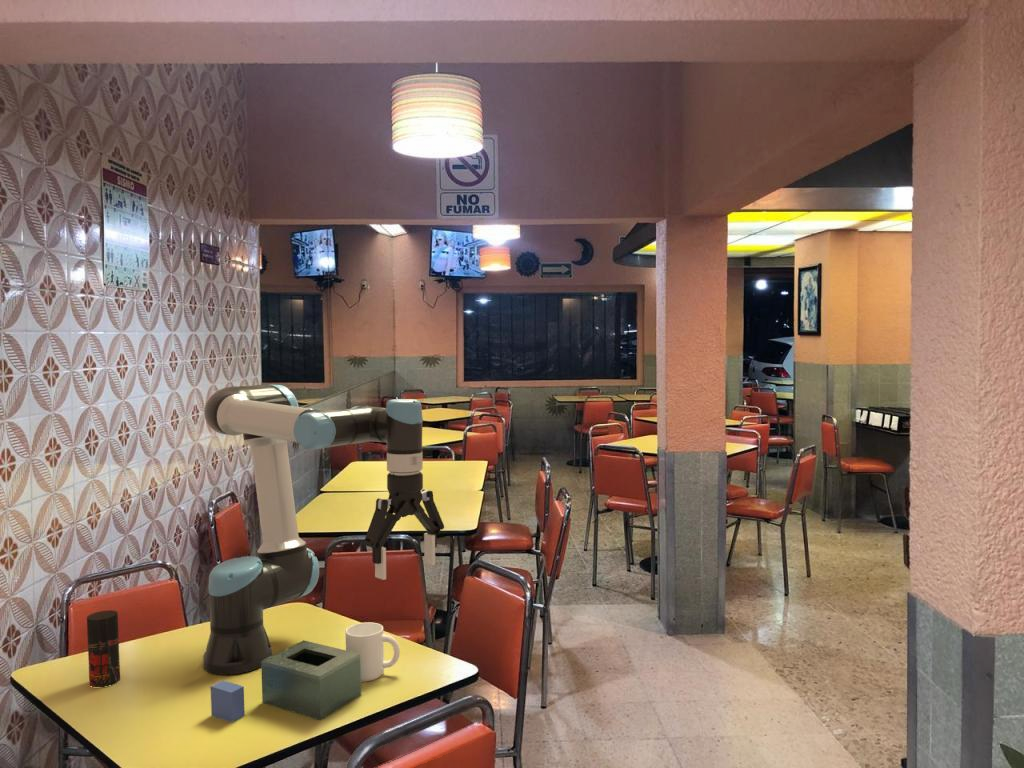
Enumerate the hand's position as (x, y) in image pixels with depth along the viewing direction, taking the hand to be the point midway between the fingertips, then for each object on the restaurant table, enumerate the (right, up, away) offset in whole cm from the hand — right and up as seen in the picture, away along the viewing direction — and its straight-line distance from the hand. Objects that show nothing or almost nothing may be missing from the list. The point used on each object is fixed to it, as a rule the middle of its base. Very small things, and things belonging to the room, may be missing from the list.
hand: (406, 570), depth 157 cm
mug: (-8, -25, +7) cm, 28 cm away
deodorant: (-67, -26, +5) cm, 73 cm away
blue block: (-34, -26, -11) cm, 44 cm away
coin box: (-19, -26, -4) cm, 32 cm away
